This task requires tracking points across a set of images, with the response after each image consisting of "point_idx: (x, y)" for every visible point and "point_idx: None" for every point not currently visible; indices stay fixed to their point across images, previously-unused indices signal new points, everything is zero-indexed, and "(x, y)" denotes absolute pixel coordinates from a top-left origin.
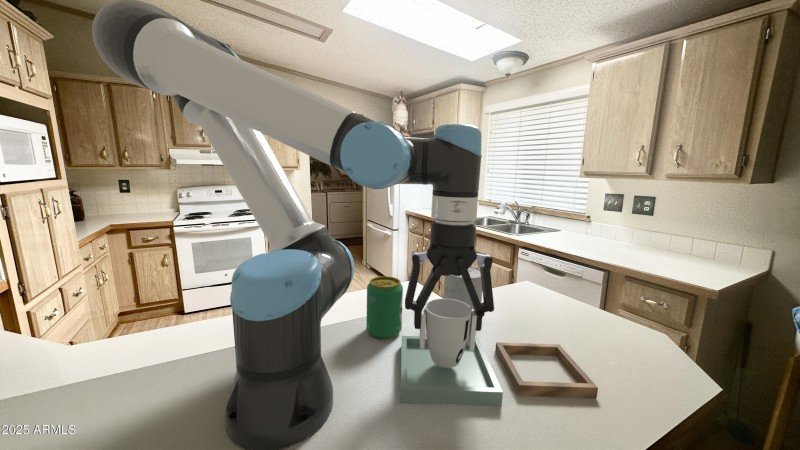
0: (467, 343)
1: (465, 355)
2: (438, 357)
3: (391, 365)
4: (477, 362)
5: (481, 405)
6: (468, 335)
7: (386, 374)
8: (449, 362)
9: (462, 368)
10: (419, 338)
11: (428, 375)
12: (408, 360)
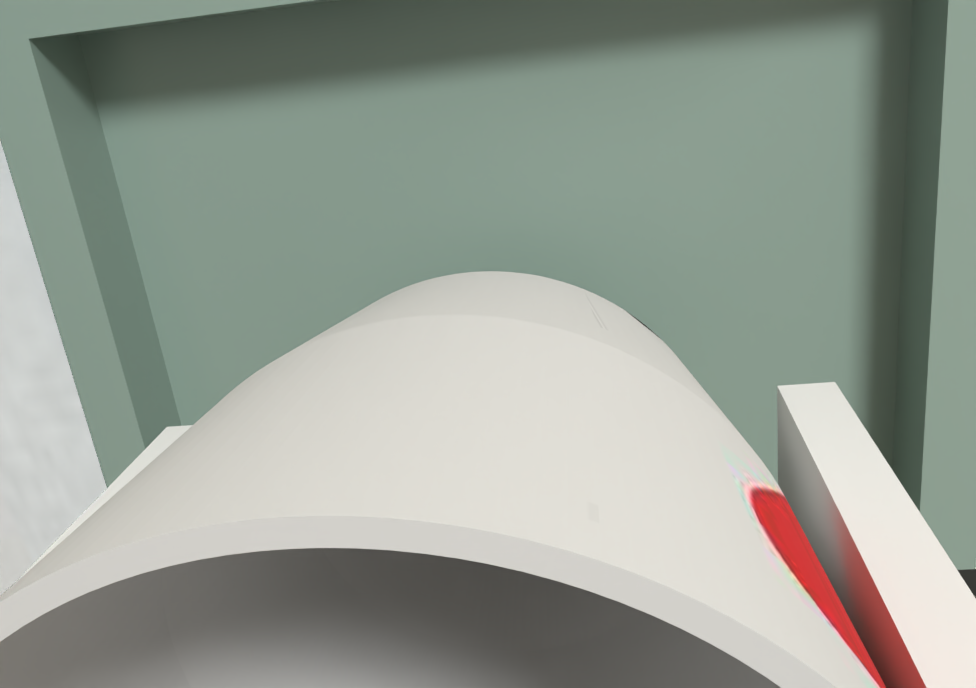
0: (777, 419)
1: (757, 133)
2: (420, 610)
3: (53, 318)
4: (867, 250)
5: None
6: (807, 505)
7: (54, 434)
8: (537, 590)
9: (686, 365)
10: (155, 445)
11: None
12: (170, 314)
